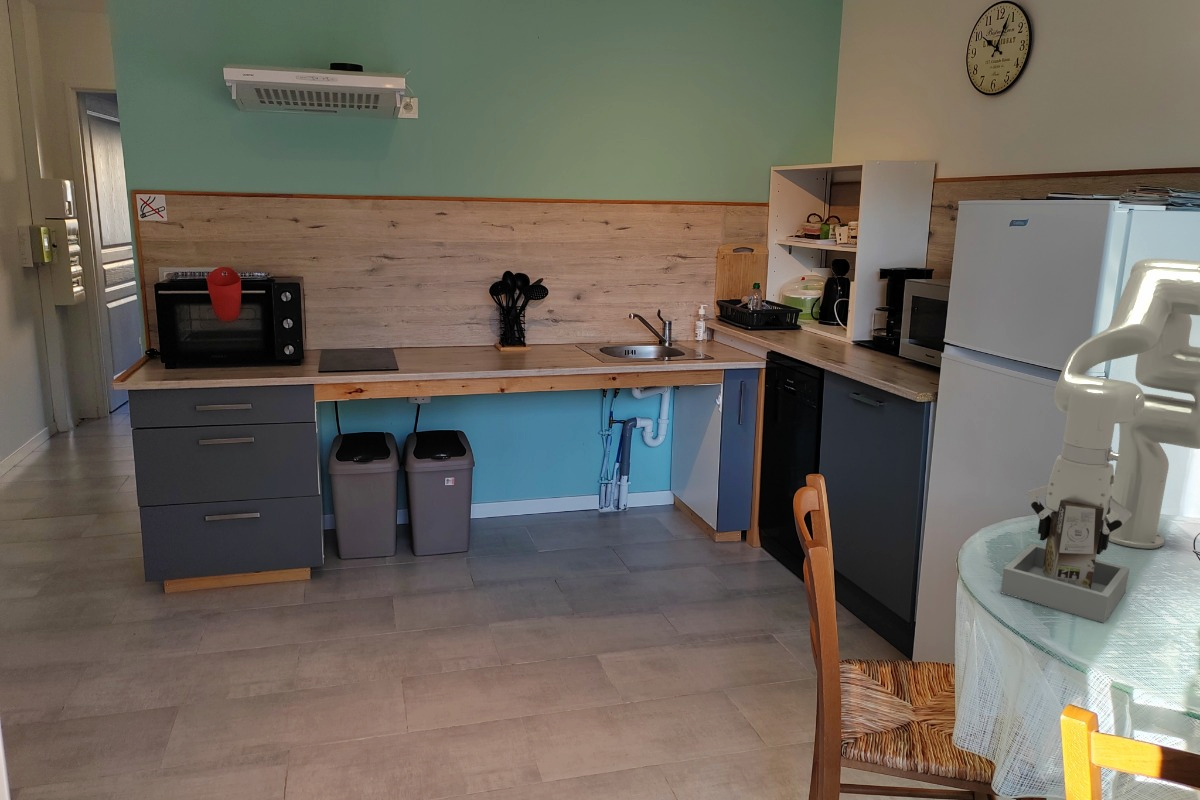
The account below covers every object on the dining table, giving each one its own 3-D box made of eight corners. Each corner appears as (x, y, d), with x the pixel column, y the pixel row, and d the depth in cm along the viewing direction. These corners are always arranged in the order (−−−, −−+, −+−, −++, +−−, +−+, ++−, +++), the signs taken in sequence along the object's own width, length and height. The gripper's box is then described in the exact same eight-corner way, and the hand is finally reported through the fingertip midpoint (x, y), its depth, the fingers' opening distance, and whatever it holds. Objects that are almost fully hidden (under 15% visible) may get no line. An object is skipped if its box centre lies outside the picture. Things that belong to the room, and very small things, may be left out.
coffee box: (1091, 594, 161) (1105, 508, 158) (1052, 590, 163) (1065, 505, 159) (1078, 574, 170) (1091, 492, 166) (1041, 570, 171) (1052, 489, 168)
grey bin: (1028, 566, 178) (1031, 543, 177) (1125, 592, 168) (1129, 568, 166) (1000, 592, 166) (1003, 568, 164) (1103, 623, 155) (1108, 596, 154)
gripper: (1145, 459, 158) (1129, 552, 162) (1039, 440, 169) (1026, 527, 173) (1136, 469, 152) (1120, 564, 156) (1027, 448, 163) (1014, 538, 167)
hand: (1071, 545), depth 165 cm, fingers closed on coffee box, 8 cm apart
